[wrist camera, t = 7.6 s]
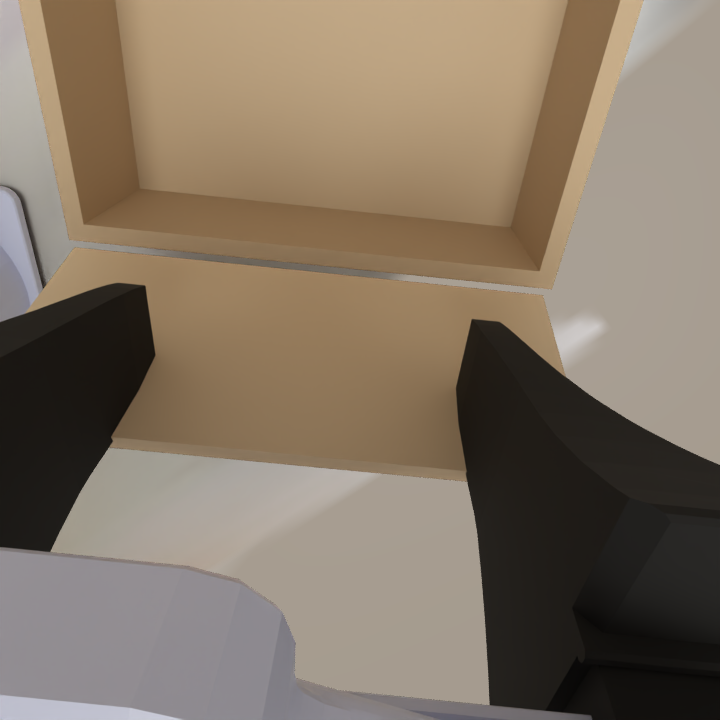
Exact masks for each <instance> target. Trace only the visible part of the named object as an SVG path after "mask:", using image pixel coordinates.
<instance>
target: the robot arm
mask: <svg viewBox="0 0 720 720" xmlns="http://www.w3.org/2000/svg"><path fill="white" fill-rule="evenodd" d="M42 290H43V288H42V284H41V280H40V276H39V272H38V268H37V264H36V260H35V256H34V252H33V248H32V244H31V240H30V236H29V232H28V229H27V225H26V221H25V217H24V213H23V209H22V205H21V201H20V199H19V197H18V196H17V194H16V193H15V192H14V191H12V190H11V189H9V188H7V187H4V186H0V720H720V465H718V464H716V463H714V462H711V461H709V460H707V459H704V458H702V457H700V456H698V455H696V454H693V453H691V452H689V451H687V450H685V449H683V448H681V447H678V446H676V445H674V444H673V443H671V442H669V441H667V440H665V439H663V438H661V437H659V436H657V435H655V434H653V433H651V432H649V431H647V430H645V429H644V428H642V427H640V426H638V425H637V424H635V423H633V422H631V421H630V420H628V419H626V418H625V417H623V416H621V415H620V414H618V413H617V412H615V411H613V410H612V409H610V408H609V407H607V406H606V405H604V404H602V403H601V402H599V401H598V400H596V399H595V398H593V397H592V396H590V395H589V394H588V393H586V392H585V391H583V390H582V389H581V388H579V387H578V386H577V385H576V384H574V383H573V382H572V381H570V380H569V379H568V378H566V377H565V376H564V375H562V374H561V373H560V372H559V371H557V370H556V369H555V368H554V367H553V366H551V365H550V364H549V363H548V362H547V361H545V360H544V359H543V358H542V357H541V356H540V355H538V354H537V353H536V352H535V351H534V350H533V349H532V348H530V347H529V346H528V345H527V344H526V343H525V342H524V341H522V340H521V339H520V338H519V337H518V336H517V335H516V334H515V333H513V332H512V331H511V330H510V329H509V328H507V327H506V326H505V325H504V324H502V323H501V322H498V321H488V320H478V319H472V320H471V324H470V329H469V333H468V337H467V342H466V346H465V350H464V355H463V359H462V363H461V368H460V372H459V376H458V381H457V385H456V397H457V411H458V424H459V430H460V436H461V442H462V447H463V453H464V459H465V464H466V470H467V472H466V478H467V482H468V487H469V491H470V496H471V501H472V506H473V510H474V515H475V521H476V528H477V534H478V543H479V554H480V564H481V575H482V588H483V600H484V612H485V627H486V643H487V660H488V677H489V699H490V705H482V704H471V703H461V702H451V701H441V700H432V699H422V698H411V697H401V696H391V695H381V694H371V693H361V692H351V691H341V690H336V689H332V688H329V687H325V686H322V685H318V684H315V683H311V682H308V681H305V680H301V679H298V678H295V673H294V671H295V670H294V669H295V645H296V643H295V640H294V638H293V636H292V634H291V631H290V629H289V626H288V624H287V622H286V619H285V617H284V615H283V613H282V611H281V610H280V609H279V608H278V607H277V606H276V605H275V604H274V603H273V602H271V601H270V600H268V599H267V598H265V597H264V596H262V595H261V594H260V593H258V592H257V591H255V590H254V589H252V588H251V587H249V586H248V585H246V584H245V583H244V582H242V581H240V580H239V579H236V578H232V577H228V576H224V575H221V574H217V573H213V572H209V571H205V570H201V569H198V568H194V567H190V566H183V565H173V564H163V563H153V562H143V561H133V560H123V559H113V558H103V557H93V556H83V555H73V554H63V553H53V552H50V551H51V549H52V547H53V545H54V543H55V540H56V538H57V536H58V534H59V532H60V530H61V528H62V526H63V524H64V522H65V520H66V518H67V516H68V514H69V513H70V511H71V509H72V507H73V505H74V503H75V501H76V499H77V497H78V495H79V493H80V491H81V490H82V488H83V486H84V485H85V483H86V481H87V480H88V478H89V476H90V475H91V473H92V472H93V470H94V469H95V467H96V466H97V464H98V463H99V461H100V460H101V458H102V457H103V455H104V454H105V452H106V451H107V450H108V448H109V447H110V445H111V444H112V442H113V440H112V438H111V436H112V435H113V433H114V431H115V430H116V428H117V426H118V424H119V423H120V421H121V419H122V418H123V416H124V414H125V413H126V411H127V409H128V408H129V406H130V404H131V403H132V401H133V399H134V398H135V396H136V394H137V392H138V391H139V389H140V387H141V385H142V383H143V381H144V379H145V376H146V374H147V372H148V370H149V368H150V366H151V364H152V362H153V360H154V357H155V355H156V354H155V347H154V341H153V334H152V327H151V320H150V313H149V307H148V300H147V293H146V286H145V285H137V284H127V283H113V284H109V285H105V286H102V287H98V288H95V289H92V290H89V291H86V292H83V293H81V294H78V295H75V296H72V297H70V298H67V299H64V300H61V301H59V302H56V303H53V304H50V305H48V306H45V307H42V308H40V309H37V310H34V311H31V312H28V313H26V311H27V310H28V309H29V307H30V306H31V305H32V303H33V302H34V301H35V299H36V298H37V297H38V295H39V294H40V293H41V291H42Z"/></svg>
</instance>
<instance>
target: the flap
mask: <svg viewBox="0 0 720 720" xmlns="http://www.w3.org/2000/svg"><path fill="white" fill-rule="evenodd" d="M113 283H127V284H137V285H145V286H146V293H147V300H148V307H149V313H150V320H151V327H152V334H153V341H154V347H155V354H156V355H155V357H154V360H153V362H152V364H151V366H150V368H149V370H148V372H147V374H146V376H145V379H144V381H143V383H142V385H141V387H140V389H139V391H138V392H137V394H136V396H135V398H134V399H133V401H132V403H131V404H130V406H129V408H128V409H127V411H126V413H125V414H124V416H123V418H122V419H121V421H120V423H119V424H118V426H117V428H116V430H115V431H114V433H113V435H112V436H111V438H112V440H113V442H112V444H111V445H110V448H120V449H131V450H141V451H152V452H162V453H173V454H183V455H194V456H204V457H214V458H225V459H235V460H246V461H256V462H267V463H277V464H288V465H298V466H309V467H319V468H329V469H340V470H350V471H361V472H371V473H382V474H392V475H403V476H413V477H423V478H434V479H444V480H455V481H465V482H467V478H466V472H467V470H466V464H465V459H464V453H463V447H462V442H461V436H460V430H459V424H458V411H457V397H456V385H457V381H458V376H459V372H460V368H461V363H462V359H463V355H464V350H465V346H466V342H467V337H468V333H469V329H470V324H471V320H472V319H478V320H488V321H498V322H501V323H502V324H504V325H505V326H506V327H507V328H509V329H510V330H511V331H512V332H513V333H515V334H516V335H517V336H518V337H519V338H520V339H521V340H522V341H524V342H525V343H526V344H527V345H528V346H529V347H530V348H532V349H533V350H534V351H535V352H536V353H537V354H538V355H540V356H541V357H542V358H543V359H544V360H545V361H547V362H548V363H549V364H550V365H551V366H553V367H554V368H555V369H556V370H557V371H559V372H560V373H561V374H562V375H564V376H565V373H564V369H563V365H562V362H561V358H560V355H559V351H558V348H557V344H556V341H555V337H554V333H553V330H552V326H551V323H550V319H549V316H548V312H547V309H546V305H545V302H544V298H543V295H534V294H525V293H516V292H505V291H496V290H487V289H477V288H466V287H457V286H447V285H437V284H428V283H418V282H408V281H399V280H389V279H379V278H369V277H359V276H350V275H340V274H330V273H320V272H311V271H301V270H291V269H281V268H272V267H262V266H252V265H242V264H232V263H223V262H213V261H203V260H193V259H184V258H174V257H164V256H154V255H144V254H135V253H125V252H115V251H105V250H96V249H86V248H76V247H75V248H74V249H73V250H72V251H71V253H70V254H69V255H68V257H67V258H66V259H65V261H64V262H63V263H62V265H61V266H60V267H59V269H58V270H57V271H56V273H55V274H54V275H53V277H52V278H51V279H50V281H49V282H48V283H47V285H46V286H45V287H44V289H43V290H42V291H41V293H40V294H39V295H38V297H37V298H36V299H35V301H34V302H33V303H32V305H31V306H30V307H29V309H28V310H27V311H26V313H28V312H31V311H34V310H37V309H40V308H42V307H45V306H48V305H50V304H53V303H56V302H59V301H61V300H64V299H67V298H70V297H72V296H75V295H78V294H81V293H83V292H86V291H89V290H92V289H95V288H98V287H102V286H105V285H109V284H113ZM565 377H566V376H565Z"/></svg>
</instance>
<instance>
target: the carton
mask: <svg viewBox="0 0 720 720" xmlns="http://www.w3.org/2000/svg"><path fill="white" fill-rule="evenodd" d="M18 1H19V5H20V10H21V15H22V19H23V24H24V29H25V33H26V38H27V43H28V48H29V52H30V57H31V62H32V66H33V71H34V76H35V81H36V85H37V90H38V95H39V99H40V104H41V109H42V113H43V118H44V123H45V128H46V132H47V137H48V142H49V146H50V151H51V156H52V161H53V165H54V170H55V175H56V179H57V184H58V189H59V193H60V198H61V203H62V208H63V212H64V217H65V222H66V226H67V231H68V236H69V240H76V241H86V242H95V243H105V244H115V245H125V246H134V247H144V248H154V249H164V250H173V251H183V252H193V253H203V254H212V255H222V256H232V257H242V258H251V259H261V260H271V261H281V262H290V263H300V264H310V265H320V266H329V267H339V268H349V269H359V270H368V271H378V272H388V273H398V274H407V275H417V276H427V277H438V278H447V279H456V280H466V281H476V282H486V283H495V284H506V285H515V286H524V287H534V288H544V289H552V287H553V284H554V281H555V278H556V275H557V272H558V269H559V265H560V262H561V259H562V256H563V253H564V250H565V246H566V243H567V240H568V237H569V234H570V231H571V227H572V224H573V221H574V218H575V215H576V212H577V208H578V205H579V202H580V199H581V196H582V193H583V190H584V187H585V183H586V180H587V177H588V174H589V171H590V168H591V164H592V161H593V158H594V155H595V152H596V149H597V145H598V142H599V139H600V136H601V133H602V130H603V127H604V124H605V120H606V117H607V114H608V111H609V108H610V105H611V101H612V98H613V95H614V92H615V89H616V86H617V83H618V79H619V76H620V73H621V70H622V67H623V64H624V60H625V57H626V54H627V51H628V48H629V45H630V42H631V38H632V35H633V32H634V29H635V26H636V23H637V20H638V16H639V13H640V10H641V7H642V4H643V1H644V0H18Z"/></svg>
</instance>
